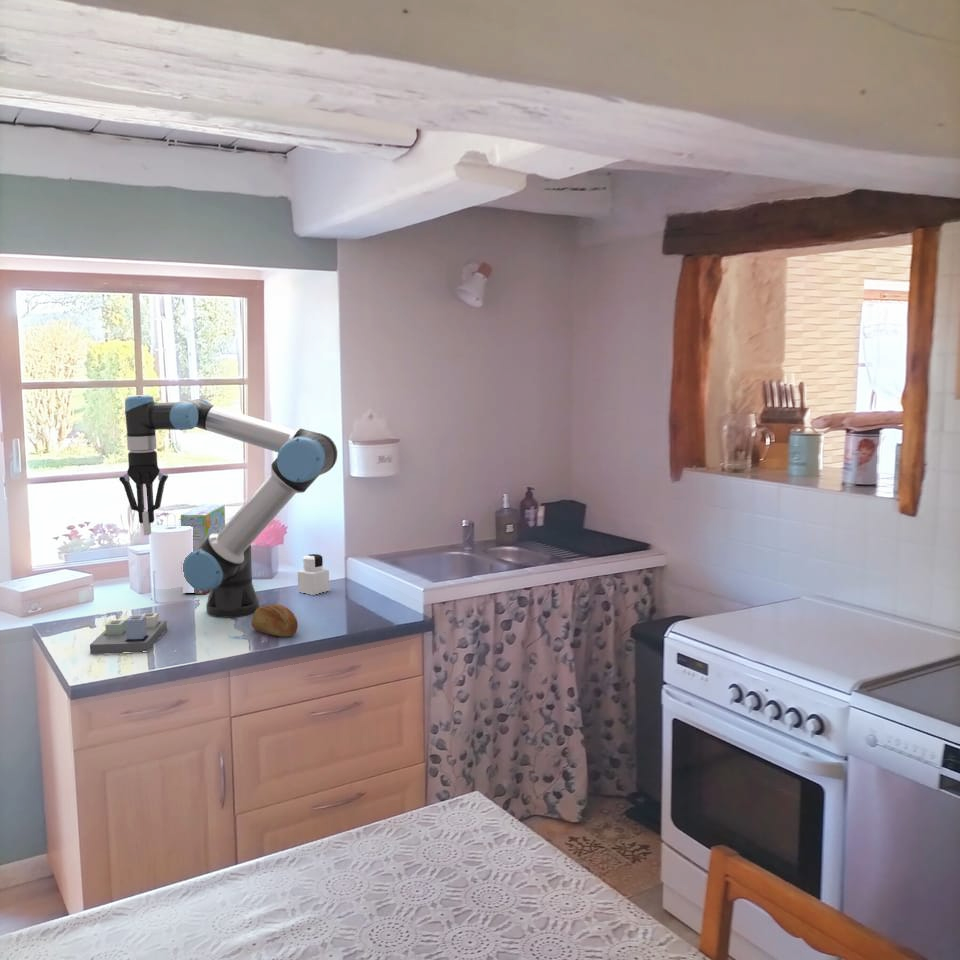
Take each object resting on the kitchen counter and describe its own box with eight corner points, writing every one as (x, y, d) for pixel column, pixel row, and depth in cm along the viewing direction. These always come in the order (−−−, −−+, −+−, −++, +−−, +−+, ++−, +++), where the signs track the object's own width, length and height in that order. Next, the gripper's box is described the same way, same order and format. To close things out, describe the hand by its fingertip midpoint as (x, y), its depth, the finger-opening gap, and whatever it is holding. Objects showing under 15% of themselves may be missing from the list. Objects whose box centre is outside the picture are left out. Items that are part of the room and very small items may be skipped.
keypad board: (166, 628, 250) (166, 620, 250) (147, 652, 231) (146, 642, 230) (114, 630, 249) (114, 621, 249) (90, 654, 229) (89, 644, 229)
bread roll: (280, 643, 238) (279, 613, 237) (242, 633, 246) (240, 605, 245) (306, 634, 246) (305, 605, 245) (269, 624, 254) (268, 597, 253)
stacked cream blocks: (314, 588, 294) (313, 551, 292) (329, 591, 290) (328, 554, 288) (297, 592, 288) (296, 555, 287) (313, 596, 284) (312, 558, 282)
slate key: (146, 634, 236) (145, 614, 235) (142, 638, 232) (141, 619, 231) (131, 634, 236) (130, 615, 235) (126, 639, 232) (125, 619, 231)
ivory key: (159, 630, 248) (158, 612, 247) (155, 635, 244) (154, 616, 243) (144, 631, 248) (143, 612, 247) (140, 635, 244) (139, 616, 243)
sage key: (126, 638, 242) (125, 619, 241) (122, 642, 238) (121, 623, 237) (111, 638, 241) (110, 619, 240) (106, 643, 237) (105, 624, 237)
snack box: (208, 594, 286) (205, 514, 282) (181, 595, 286) (177, 514, 282) (228, 578, 307) (225, 503, 304) (203, 578, 308) (199, 503, 304)
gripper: (169, 448, 256) (173, 530, 259) (120, 450, 254) (126, 532, 257) (164, 451, 249) (169, 535, 252) (114, 453, 247) (120, 537, 250)
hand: (147, 534), depth 255 cm, fingers closed
